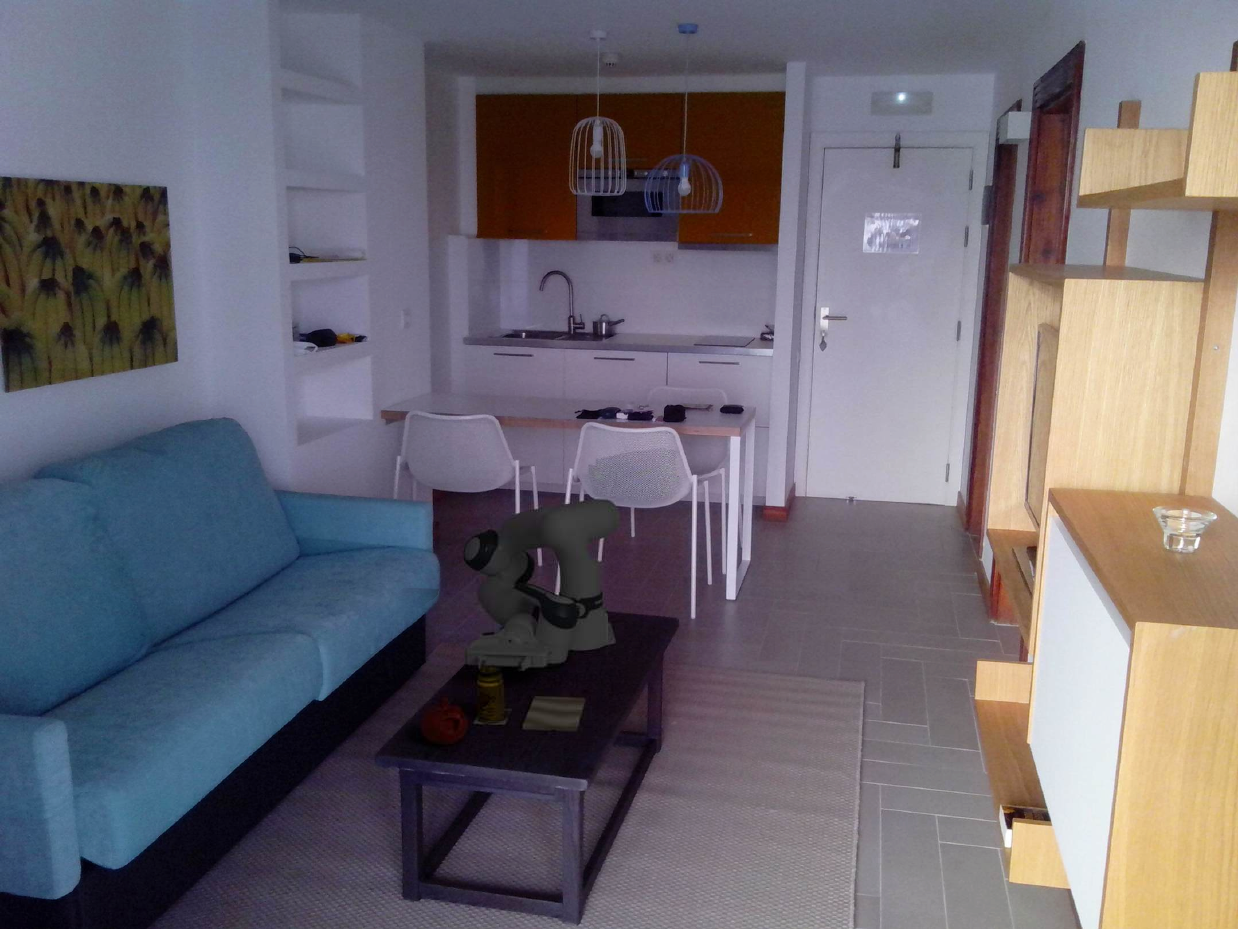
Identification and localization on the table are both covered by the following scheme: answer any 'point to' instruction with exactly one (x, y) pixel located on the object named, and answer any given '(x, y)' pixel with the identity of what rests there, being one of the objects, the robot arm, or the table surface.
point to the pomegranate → (444, 723)
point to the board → (554, 713)
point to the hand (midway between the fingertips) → (501, 667)
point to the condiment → (491, 696)
